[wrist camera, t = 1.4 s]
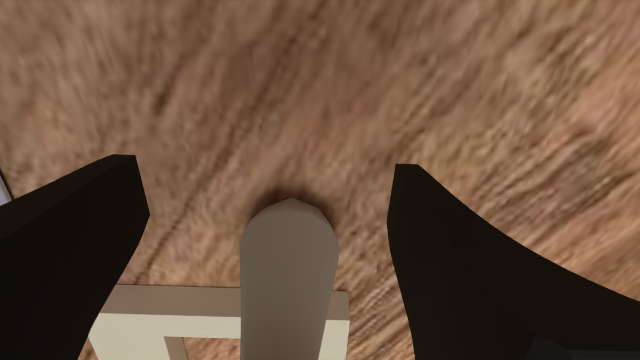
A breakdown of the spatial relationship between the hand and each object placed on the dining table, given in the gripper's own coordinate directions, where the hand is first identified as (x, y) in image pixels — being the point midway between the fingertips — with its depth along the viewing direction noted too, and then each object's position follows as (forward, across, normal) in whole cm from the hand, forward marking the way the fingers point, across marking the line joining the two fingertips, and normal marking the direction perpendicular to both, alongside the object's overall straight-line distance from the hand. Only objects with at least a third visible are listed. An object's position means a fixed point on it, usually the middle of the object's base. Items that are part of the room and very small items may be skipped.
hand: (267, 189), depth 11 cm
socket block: (+10, +5, +22) cm, 24 cm away
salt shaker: (+11, 0, +10) cm, 14 cm away
